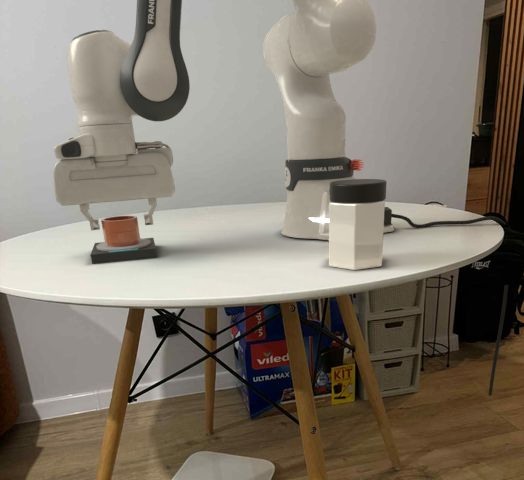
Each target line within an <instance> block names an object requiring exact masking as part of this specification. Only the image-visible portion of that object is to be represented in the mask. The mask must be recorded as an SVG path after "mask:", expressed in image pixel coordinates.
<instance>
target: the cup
mask: <svg viewBox="0 0 524 480" xmlns="http://www.w3.org/2000/svg"><path fill="white" fill-rule="evenodd" d="M100 221H101V227H102V234H103V240H104V242H105V243H107V245H108V246H111V247H122V246H130V245H134V244H137V243H139V239H140V238H141V233H140V228H139V227H140V226H139V219H138V215H137V216H136V215H115V216H108V217H104V218H101V220H100Z"/></svg>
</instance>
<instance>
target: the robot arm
mask: <svg viewBox="0 0 524 480" xmlns="http://www.w3.org/2000/svg"><path fill="white" fill-rule="evenodd" d="M291 1H292V4H293V7H294V11H293V12H290V13H288V14H286V15H284V16H282V17H281V18H280V19H278V21H276V22H275V24H274V25H272V26H271V28H270V29H269V30H268V31H267V33H266V35H265V37H264V40H263V44H262V54H263V55H262V56H263V60H264V63H265V65H266V67H267V69H268V71H269V72H270V73H271V74H272V75H273V77H274V78H275V82H276V84H277V86H278V91H279V94H280V97H281V101H282V105H283V110H284V111H283V112H284V116H285V127H286V128H285V130H286V132H285V133H286V157H287V159H286V160H285V163H284V164H285V166H284V183H285V189H286V205H285V213H284V219H283V225H282V228H281V232H280V233H281V234H282V235H283V236H285V237H290V238H296V239H309V240H310V239H311V240H313V239H314V240H323V241H329V203H330V202H331V201H330V195H329V193H330V192H329V191H330V190H329V189H330V183H331V182H333V181H339V180H351V179H356V178H355V177H354V173H355V171H357V172H360V171H362V169H363V168H364V162H363V160H362V159H357V158H354V159H352V160H351V159H350V158H349V157H346V113H345V110H344V108H343V106H341V104H340V103H338V101H337V100H336V98H335V95H334V93H333V89H332V85H331V79H330V75H333V74H338V73H342V72H345V71H347V70H348V69H351V68H352V67H354V66H356V65H357V64H359V63H361V61H363V60H364V59H366V58H367V57H368V55H369V54H370V53H371V51H372V50H373V47H374V45H375V42H376V37H377V21H376V17H375V13H374V11H373V9H372V7H371V5H370V4H369V2H368V1H367V0H291ZM182 8H183V0H136V14H135V15H136V17H135V27H134V29H135V30H134V36H133V39H132V42H131V43H129V42H127V41H125V40H123V39H122V38H120V37H119V36H117V35H116V34H115V33H114V32H113V31H112V30H107V29H101V30H100V29H98V30H90V31H86V32H83V33H81V34H78V35H77V36H75V37H73V38H72V39H71V41H70V42H69V44H68V46H67V52H66V60H67V71H68V79H69V85H70V91H71V96H72V97H71V98H72V100H73V102H74V104H75V106H76V109H77V127H78V136H75V137H70V138H68V139H67V140H66V141H63V142H61V143H58V144H56V145H55V146H54V147H53V153H54V156H55V158H56V159H57V160H58V161H56V163H55V164H54V166H53V169H52V179H53V182H52V183H53V190H54V197H55V200H56V202H57V203H58V204H59V205H60V206H62V207H68V206H77V205H78V206H79V210H80V212H81V214H82V215H83V216H84V217H85V219H86V220H87V221H88V222H89V228H90V231H99V230H101V226H100V220H99V218H94V217H93V216H92V214H91V213H90V212H89V210H90V209H91V208H90V205H91V204H101V203H103V204H104V203H113V202H123V201H124V202H125V201H135V200H146V199H147V202H148V205H149V206H150V207H149V210H148V212H147V213H144V214H143V220H144V225H145V226H150V225H151V226H152V225H154V220H153V215H154V213H155V210H156V207H157V206H158V203H157V199H158V198H169V197H170V198H171V197H173V195H174V194H175V193H176V186H175V181H174V176H173V172H172V168H171V167H172V166H173V165H174V157H173V155H174V154H173V150H172V148H171V147H170V146H169V145H168V144H166V143H163V142H162V141H160V140H155V141H140V142H139V141H138V142H137V141H136V136H135V130H134V124H133V118H134V117H136V116H138V117H140V118H143V119H145V120H147V121H150V122H165V121H169V120H171V119H173V118H175V117H176V116H177V115H179V114H180V113H181V112H182V110H183V109H184V107H185V106H186V105H187V102H188V99H189V95H190V89H191V88H190V87H191V85H190V76H189V72H188V69H187V65H186V62H185V59H184V56H183V52H182V48H181V23H182ZM392 218H394V219H400V220H403V221H405V222H407V223H408V225H409V226H410V227H412V228H414V229H415V228H416V229H424V228H427V227H428V228H429V227H433V226H442V225H443V226H445V225H446V226H447V225H448V226H449V225H453V226H454V225H470V224H475V223H480V222H485V221H495V222H497V223H498V224H500V225H503V226H504V225H507V223H506V222H505V221H504V220H503V219H501V218H500V217H497V216H493V215H492V216H489V215H488V216H482V217H477V218H474V219H467V220H438V221H437V220H435V221H431V222H427V223H423V224H418V223H414V222H413V221H412V220H411V219H410V218H409V217H408V216H405V215H403V214H397V213H393V209H391V208H390V207H389V206H385V209H384V231H383V234H385V233H391V232H394V231H395V227H394V226H395V225H394V224H393V223H392ZM508 292H509V284H505V285H504V288H503V297H502V305H501V311H500V318H499V324H498V330H497V336H496V341H495V348H494V354H493V361H492V366H491V372H490V374H491V375H490V380H489V388H488V396H490V397H491V396H493V389H494V381H495V375H496V368H497V362H498V357H499V356H498V355H499V350H500V345H501V340H502V339H501V338H502V334H503V329H504V328H503V327H504V321H505V314H506V308H507V300H508Z"/></svg>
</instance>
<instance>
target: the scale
mask: <svg viewBox="0 0 524 480" xmlns="http://www.w3.org/2000/svg"><path fill="white" fill-rule="evenodd" d="M155 258H158V255H157V248H156V243H155V239H154V237H146V238H145V237H144V238H142V237H140V239H139V243H137V244H134V245H130V246H122V247H111V246H108V245H107V243H105V241H99V242H94V244H93V247H92V249H91V251H90V260H91V264H92V265H95V264H103V263H104V264H105V263H114V262H123V261H124V262H125V261H134V260H144V259H155Z"/></svg>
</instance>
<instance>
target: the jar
mask: <svg viewBox="0 0 524 480" xmlns="http://www.w3.org/2000/svg"><path fill="white" fill-rule="evenodd" d="M329 190H330V191H329V192H330V193H329V195H330V201H331V202H330V203H329V240H328V266H329V267H331V268H337V269H338V268H339V269H344V270H351V271H357V270H366V269H373V268H380V267H382V266H383V252H384V251H383V250H384V249H383V248H384V233H383V231H384V209H385V207H386V206H385V205H386V198H387V180H385V179H380V178H355V179H351V180H339V181H333V182H331V183H330V189H329Z"/></svg>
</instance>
